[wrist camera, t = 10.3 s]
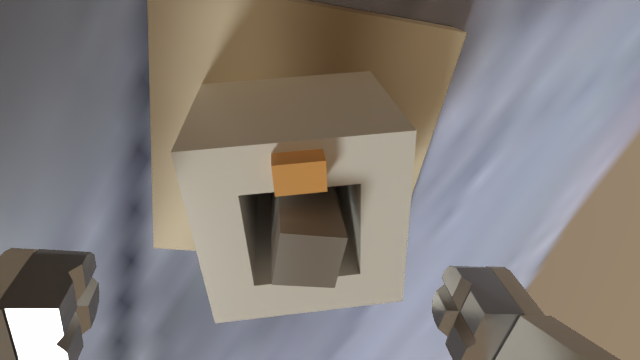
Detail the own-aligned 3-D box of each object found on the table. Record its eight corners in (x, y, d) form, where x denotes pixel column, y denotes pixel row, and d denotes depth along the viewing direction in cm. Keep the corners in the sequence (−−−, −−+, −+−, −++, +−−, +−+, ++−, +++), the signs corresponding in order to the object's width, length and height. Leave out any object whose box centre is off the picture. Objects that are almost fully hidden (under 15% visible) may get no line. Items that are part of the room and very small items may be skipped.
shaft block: (159, 232, 17) (102, 388, 11) (155, -28, 12) (51, 3, 6) (383, 248, 19) (436, 389, 13) (455, 27, 14) (590, 90, 8)
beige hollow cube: (229, 222, 16) (212, 340, 11) (201, 83, 13) (164, 165, 9) (367, 207, 17) (408, 316, 12) (370, 71, 14) (425, 141, 9)
